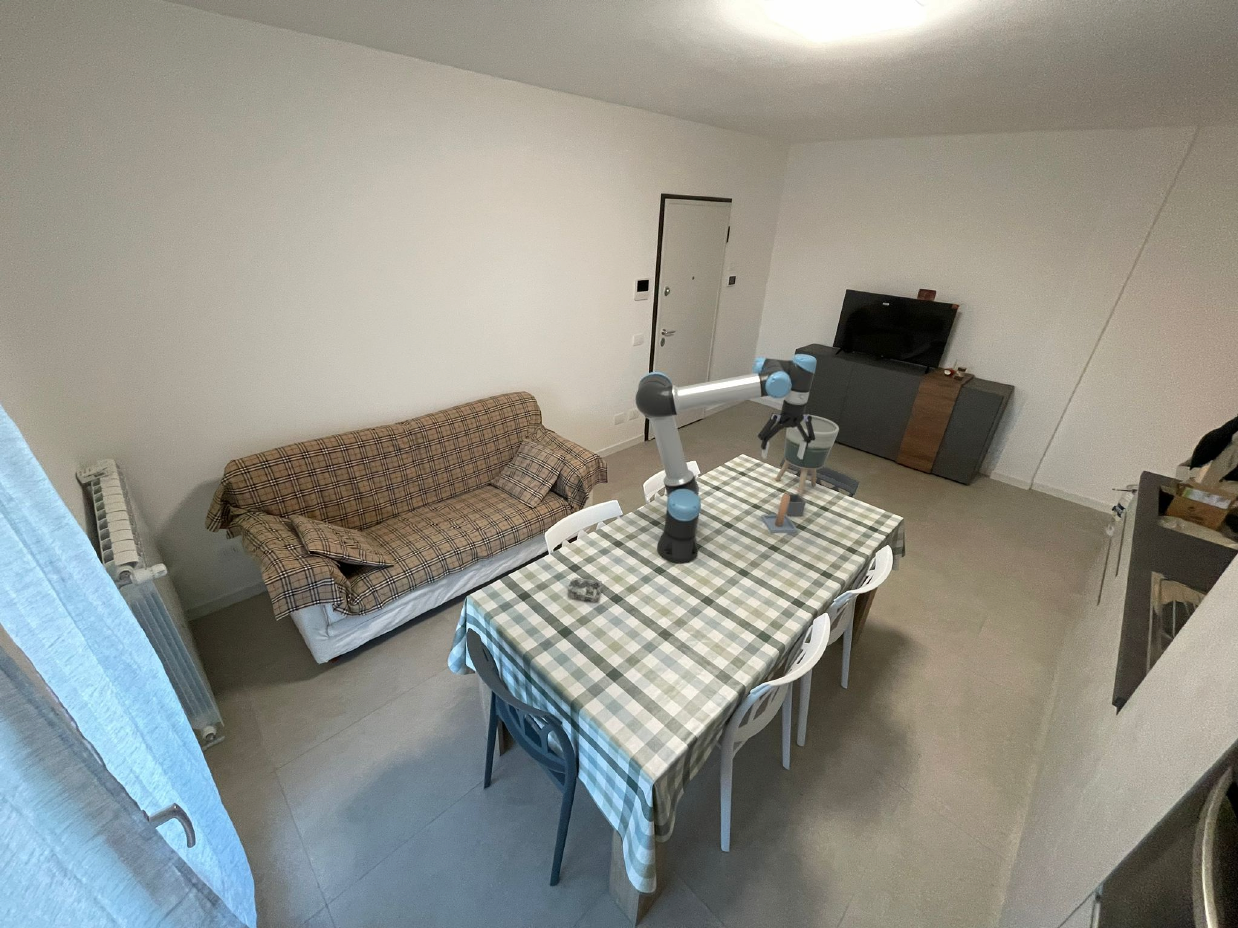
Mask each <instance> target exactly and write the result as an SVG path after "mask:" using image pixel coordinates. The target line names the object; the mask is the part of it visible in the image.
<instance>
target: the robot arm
mask: <svg viewBox="0 0 1238 928" xmlns="http://www.w3.org/2000/svg"><path fill="white" fill-rule="evenodd" d="M817 363H818V362H817V359H816V358H815V356H812V355H810V354H805V353H804V354H803V353H798V354H797V353H796V354H794V355H793V356H792V359H791V360H789V359H788V360H786V359H778V358H777V359H776V358H768V357H757V358H756V359H755V360H754V362H753V366H752V371H751V373H750V374H744V375H740V376H739V375H738V376H733V377H728V378H723V379H718V380H712V381H706V382H702V383H701V382H700V383H696V384H690V385H685V386H679V387H678V386H676V385H674V384H672V381H671V379H670V378H669V376H667V375H666V374H664V373H663V372H660V371H652V372H649V373H647V374H645V375H644V376H643V377H642V378H641V380H640V381H639V383H638V386H637V391H636V394H635V405H636V408H637V409H638V411H639V412H640V413H641V414H642V415H644V417H645V418H646V419H648V420H649V421H650V425H651V428H652V431H653V434H654V438H655V442H656V445H657V449H658V452H659V455H660V456H659V457H660V459H661V463H662V467H663V470H664V473H665V476H664V478H663V485H664V487H665V492H666V495H667V499H666V509H665V510H666V511H665V513H666V514H665V519H664V526H663V527H664V529H663V531H662V534H661V536H660V537H659V539H658V541H657V547H656V551H657V553H658V555H659V556H660V557H661V558H663V559H664V560H666V561H668V562H670V563H674V564H687V563H690V562H691V563H692V562H693V561H695V560H696V558H697V557H698V554H699V545H698V540H697V536H696V535H697V530H698V523H699V516H700V513H701V508H702V505H701V504H702V502H701V501H702V500H701V498H700V495H699V493H700V487H699V484H698V482H697V480H696V477H695V475H694V472H693V471H692V470H690V469H689V466H688V464H687V460H686V456H685V453H684V450H683V449H684V448H683V445H682V441H681V437H680V433H679V430H678V426H677V423H676V417H675V416H677V415H679V414H680V413H681V412H682V411H688V410H694V409H700V408H706V407H707V408H708V407H710V406H711V407H712V406H717V405H724V404H728V403H734V402H740V401H746V400H751V399H759V398H763V397H771V398H773V399H777V400H778V399H783V401H782V406H781V412H780V414H776V413H775V412H772V413H771V414H770V418H769V419H768V420H767V422H766V424H764V426H763V428H762V429H761V430H760V431H759V433H758V435H757V438H759V440H760V441H761V445H760V448H761V457H762V458H763V460H767V457H768V451H769V447H770V443H771V442H770V440H771V439H772V438H773V437H774V436H776V434H778V433H779V432H780V431H781V430H783V429H784V428H785V429H787V428H789V427H792V428H795V427H797V428H798V430H799V432H800V433H801V435H802V437H803V438H804V440H803V439H801V443H800V447H799V451H798V454H797V456H798V457H799V458H800V459H803V455H804V451H805V450H807V447H808V444H809V443H811V441H812V440H813V441H814V440H815V435H814V431H813V427H812V423H811V421H812V416H810V415H811V414H809V413H805V412H806V409H807V402H808V401H809V400H808V399H809V396H810V390H811V387H812V383H813V380H814V376H815V374H816V368H817ZM803 419H804V420H805V423H806V427H807V431H808V435H809V436H807V434H806V432H805V431H804V429H803V427H802V425H801V424H800V422H801V421H802V420H803Z"/></svg>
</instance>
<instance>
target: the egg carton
mask: <svg viewBox="0 0 1238 928" xmlns="http://www.w3.org/2000/svg"><path fill="white" fill-rule="evenodd" d="M602 585H603V583H602V580H599V581H598V580H596V581H595V580H592V579H587V578H586V579H585V578H581V577H577V576H576V577H573V578H571V580H570V582H569V585H568V587H567V597H569V598H570V599H571V600H573V601H574V600H575V599H580V601H581V602H584V601H586V600H590V602H591V603H596V602H598V601H599V600H600V595H601V593H602ZM576 586H577V588H578V589H585V587H586V589H585V595H584V593H583V591H582V590H574V587H576ZM594 589H596V590H595V591H596V593H595V597H593V596H594Z"/></svg>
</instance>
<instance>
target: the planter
mask: <svg viewBox="0 0 1238 928" xmlns="http://www.w3.org/2000/svg"><path fill="white" fill-rule="evenodd" d="M809 415H810V416H812V421H811V423H812V427H813V431H814V435H815V440H814V441H813V440H812V441H811V443H809V444H808V447H807V450H805V451H804V455H803V459H800V458H799V457H798V456H797V454H798V451H799V447H800V443H801V439H803V440H804V438H803V437H802V435H801V433H800V432H799V430H798V428H797V427H795V428H792V427H789V428H786V432H785V441H784V451H783V459H784V463H783V465H782V467H780V470H779V472H778V473H777V475H776V477H775V479H774V480H775V481H777V482H779V481H780V480H781V478H782V477H783V476H784V474H785V473H786V471H787V470H788V469H789V467H790V465H792V466H794V467H796V468H800V470H801V471H800V476H799V482H798V488H797V494H799V495H800V496H801V498H802V499H803V494H804V489H805V486H806V481H807V477H808V476H807V475H808V474H809V473H808V472H809V470H810V482H811V483H810V485H811V486H812V487H816V485H817V470H820V469H822V468H823V467H824V466H825V464H826V462H827V460H828V457H829V454H830V452H831V450H832V448H833V446H834V444H835V440H836V439H837V436H838V433H839V431H840V428H839V425H838V424H837V423H835V422H834V421H832V420H830V419H828V418H825V417H821V416H817V415H811V414H809ZM800 424H801V425H802V427H803V429H804V431H805V432H806V434H807V436H809V435H808V431H807V427H806V423H805V420H804V419H803V420H802V421H801V422H800Z"/></svg>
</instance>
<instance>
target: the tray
mask: <svg viewBox="0 0 1238 928" xmlns="http://www.w3.org/2000/svg"><path fill="white" fill-rule="evenodd" d="M776 518H777V514H761V516H760V519H761V521H762V522H763V523H764V525H765V527H766V528H767V530H768V531H769V533H770V534H791V533H793V534H795V533H798V531H799V529H798V528H797V526H796V525H795V524H794V523H793V521H792V519H790V517H788V516H787V515H785V518H784V522H783V525H782V527H777V526H776V525H775V522H776Z"/></svg>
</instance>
